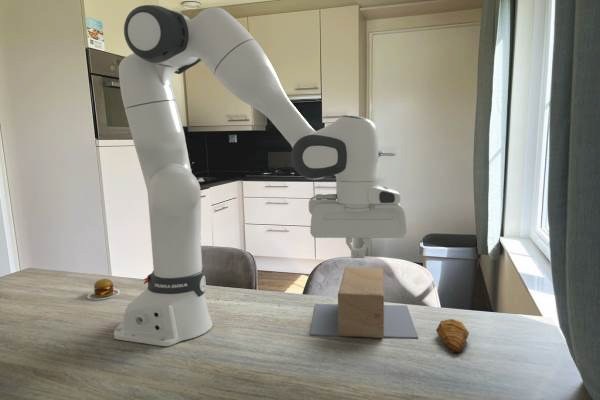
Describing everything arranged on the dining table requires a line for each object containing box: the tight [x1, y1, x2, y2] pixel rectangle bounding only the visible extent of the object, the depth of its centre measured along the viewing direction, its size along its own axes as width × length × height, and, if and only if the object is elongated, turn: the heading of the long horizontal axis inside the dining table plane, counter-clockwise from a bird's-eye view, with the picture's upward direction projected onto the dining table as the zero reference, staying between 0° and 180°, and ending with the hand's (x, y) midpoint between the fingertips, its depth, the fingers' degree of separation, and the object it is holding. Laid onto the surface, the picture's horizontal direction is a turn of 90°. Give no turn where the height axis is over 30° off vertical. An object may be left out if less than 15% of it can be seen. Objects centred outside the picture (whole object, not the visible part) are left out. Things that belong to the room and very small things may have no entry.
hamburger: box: [86, 278, 121, 301], centre depth 124 cm, size 12×12×6 cm
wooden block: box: [337, 266, 385, 339], centre depth 101 cm, size 10×10×20 cm
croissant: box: [435, 318, 470, 355], centre depth 90 cm, size 14×7×5 cm, turn 165°
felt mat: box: [309, 303, 419, 339], centre depth 102 cm, size 24×18×1 cm
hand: (357, 257), depth 90 cm, fingers closed
